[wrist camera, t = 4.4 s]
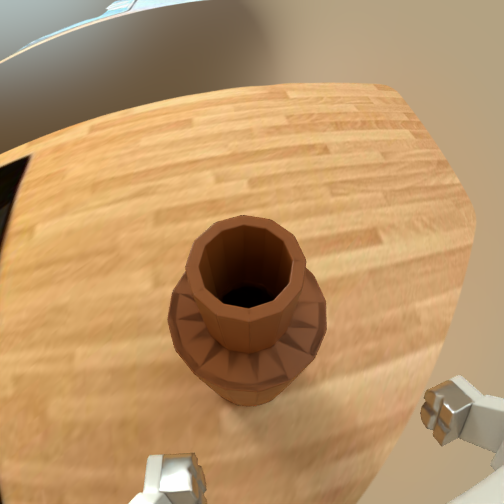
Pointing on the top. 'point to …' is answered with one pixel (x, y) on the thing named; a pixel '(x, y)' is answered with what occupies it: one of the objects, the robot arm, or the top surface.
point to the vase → (247, 310)
